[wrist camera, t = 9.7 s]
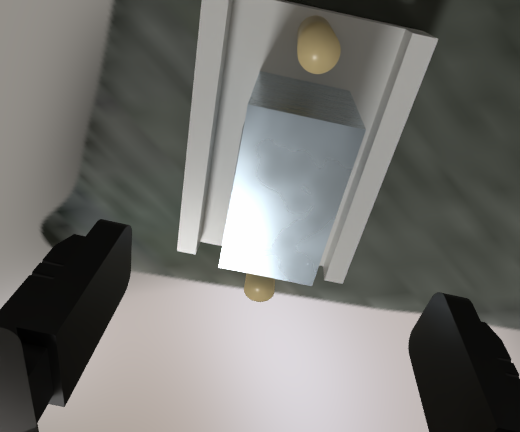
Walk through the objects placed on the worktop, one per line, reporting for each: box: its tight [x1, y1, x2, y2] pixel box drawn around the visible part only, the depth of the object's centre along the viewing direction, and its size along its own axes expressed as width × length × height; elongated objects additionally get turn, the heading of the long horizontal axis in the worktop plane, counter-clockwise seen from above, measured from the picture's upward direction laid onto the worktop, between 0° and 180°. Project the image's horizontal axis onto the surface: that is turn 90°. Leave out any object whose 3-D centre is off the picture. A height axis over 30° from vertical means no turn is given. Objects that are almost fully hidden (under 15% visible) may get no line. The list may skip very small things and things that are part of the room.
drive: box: [219, 71, 366, 286], centre depth 17 cm, size 7×4×5 cm, turn 169°
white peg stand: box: [177, 0, 438, 302], centre depth 18 cm, size 12×9×5 cm
